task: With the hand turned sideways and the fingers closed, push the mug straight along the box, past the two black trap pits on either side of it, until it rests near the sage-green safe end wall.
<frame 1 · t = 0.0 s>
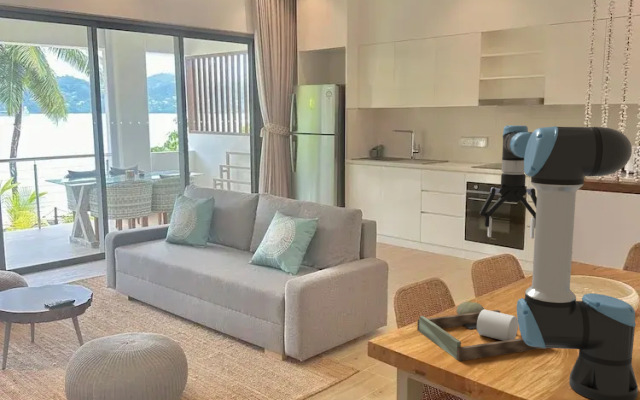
hand: (510, 237, 185), 28 cm above the table, tool pointing down, fingers open, 13 cm apart
sea urchin shell: (470, 317, 192), on the table
trap box: (480, 338, 172), on the table
decorative candle: (556, 297, 212), on the table
mug: (499, 336, 174), on the table
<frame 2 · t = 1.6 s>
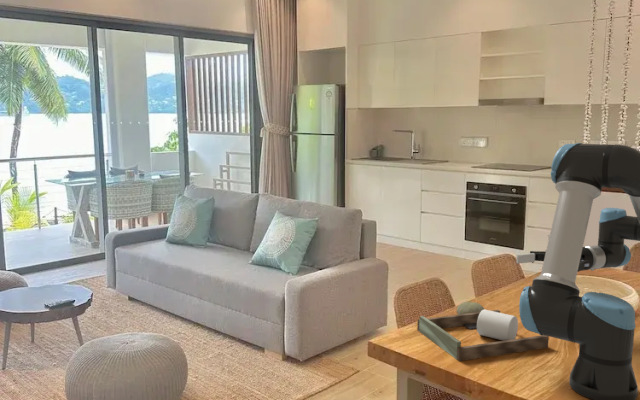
hand: (530, 263, 174), 22 cm above the table, tool horizontal, fingers open, 12 cm apart
nothing on the table moved.
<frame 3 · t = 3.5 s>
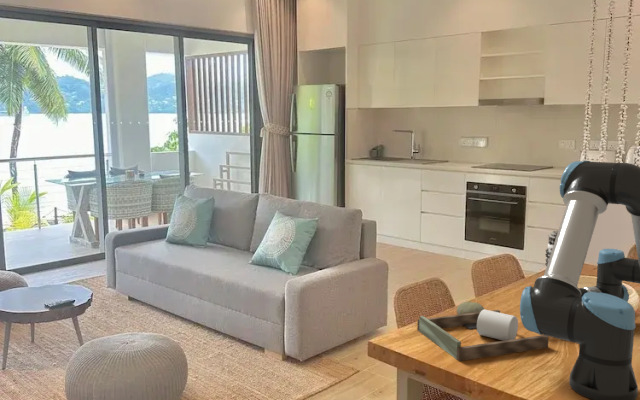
hand: (523, 307, 176), 8 cm above the table, tool horizontal, fingers closed
nothing on the table moved.
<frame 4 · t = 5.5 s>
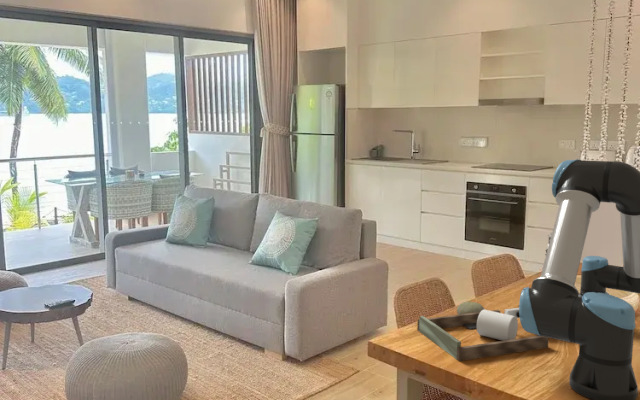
hand: (505, 314, 175), 6 cm above the table, tool horizontal, fingers closed
nothing on the table moved.
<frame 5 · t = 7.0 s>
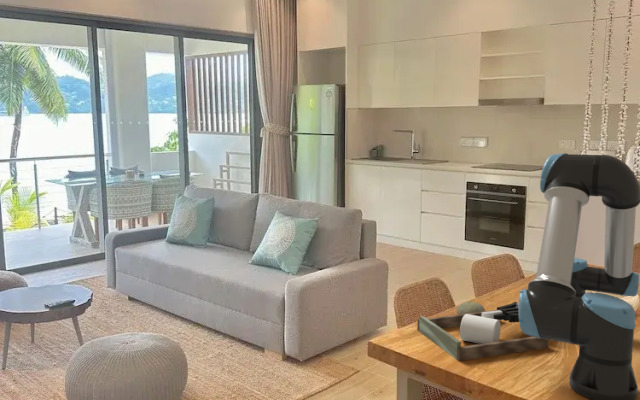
hand: (482, 317, 172), 6 cm above the table, tool horizontal, fingers closed
mug: (481, 341, 170), on the table, touching gripper
everything else where it was.
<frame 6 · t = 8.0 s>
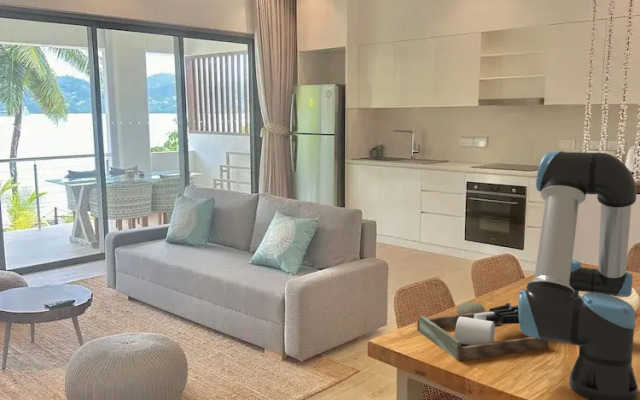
hand: (475, 318, 170), 6 cm above the table, tool horizontal, fingers closed
mug: (476, 343, 169), on the table, touching gripper
everything else where it was.
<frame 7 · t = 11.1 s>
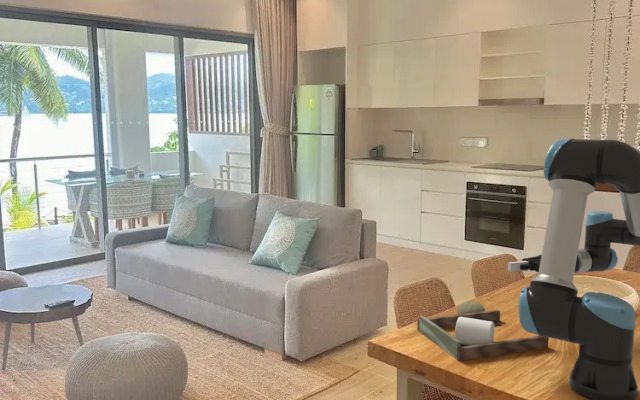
hand: (509, 267, 172), 22 cm above the table, tool horizontal, fingers closed
mug: (475, 343, 169), on the table
everything else where it was.
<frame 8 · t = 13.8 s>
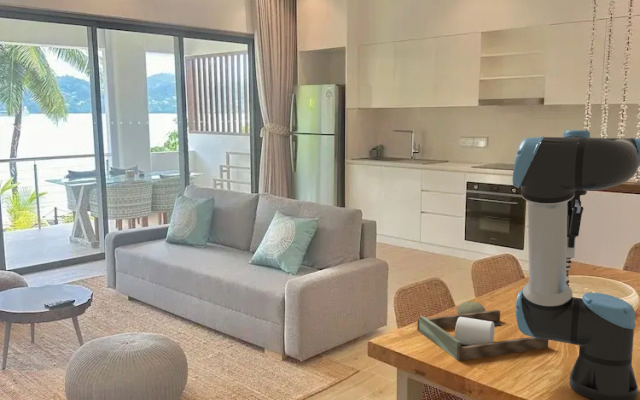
hand: (568, 257, 173), 24 cm above the table, tool pointing down, fingers closed
nothing on the table moved.
at the end: mug inside the target area on the trap box (5.5 cm from its centre), point 0.0 cm above the trap box's base; mug tilted 0°; mug moved 10.5 cm from its start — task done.
